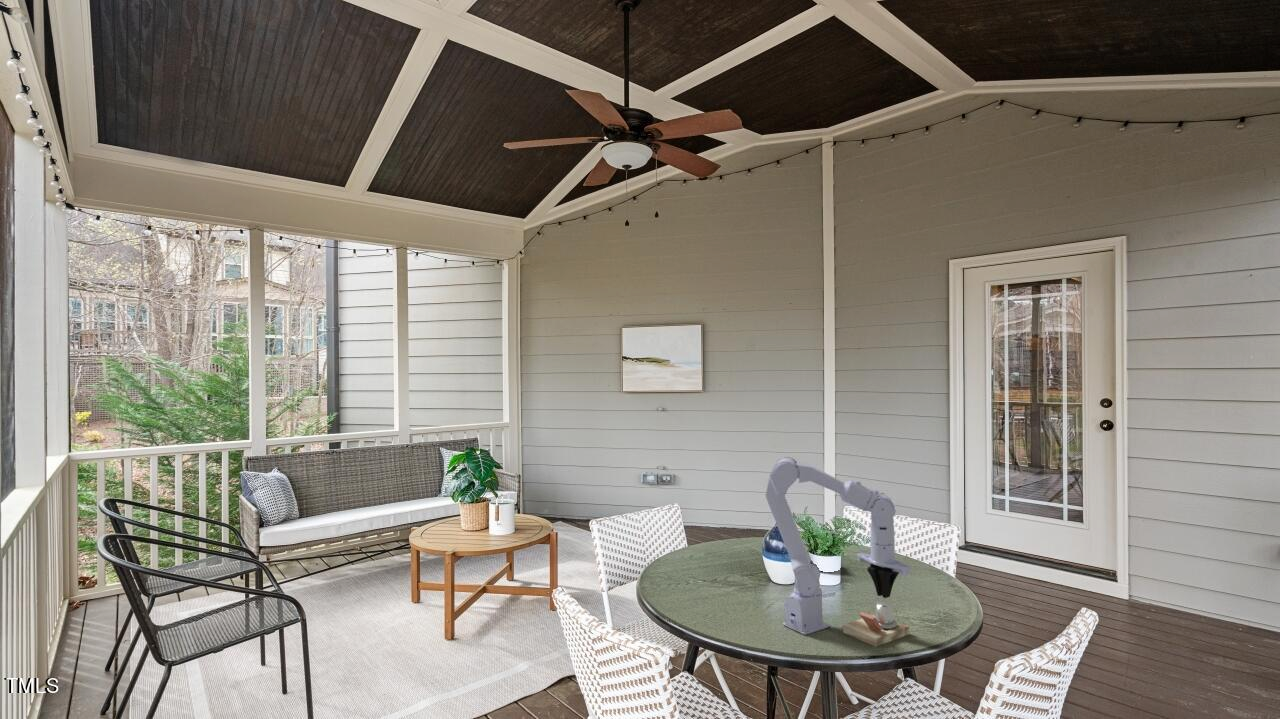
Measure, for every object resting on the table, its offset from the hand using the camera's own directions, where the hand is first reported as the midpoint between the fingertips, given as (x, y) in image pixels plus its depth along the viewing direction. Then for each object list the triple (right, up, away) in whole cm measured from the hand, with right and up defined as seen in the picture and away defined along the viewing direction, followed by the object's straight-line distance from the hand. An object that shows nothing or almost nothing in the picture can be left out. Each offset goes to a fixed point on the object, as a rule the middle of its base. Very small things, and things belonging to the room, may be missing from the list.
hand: (883, 596), depth 161 cm
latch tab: (-5, -6, -3) cm, 8 cm away
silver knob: (0, -9, 0) cm, 9 cm away
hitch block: (-2, -9, 0) cm, 10 cm away
